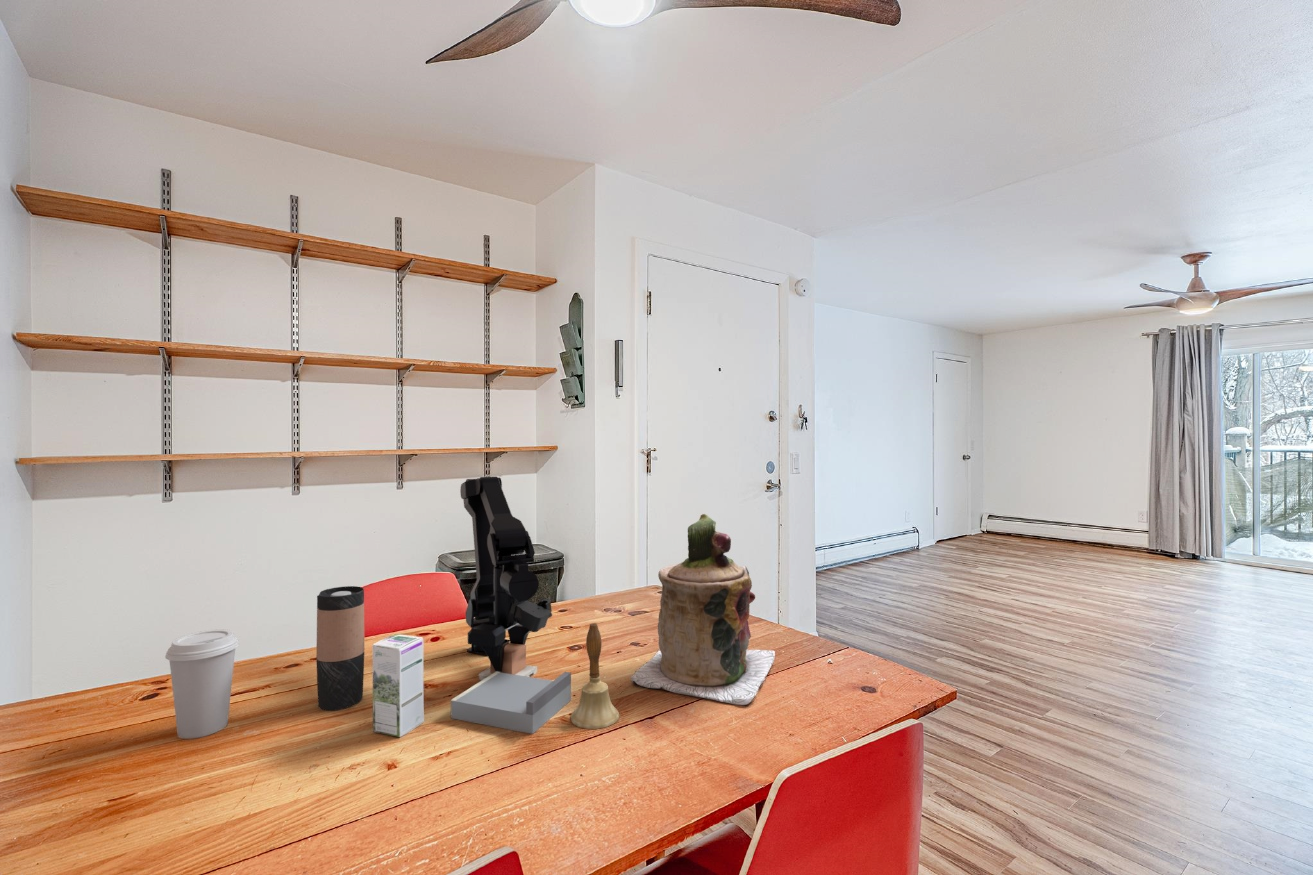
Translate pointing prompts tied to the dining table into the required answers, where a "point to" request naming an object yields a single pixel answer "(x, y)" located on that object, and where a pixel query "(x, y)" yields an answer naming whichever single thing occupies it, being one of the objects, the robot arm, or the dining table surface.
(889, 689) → the dining table surface
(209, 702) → the coffee cup
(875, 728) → the dining table surface
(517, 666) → the pallet
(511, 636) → the robot arm
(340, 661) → the travel mug
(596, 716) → the hand bell
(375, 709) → the syrup box
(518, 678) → the dock
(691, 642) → the cookie jar
